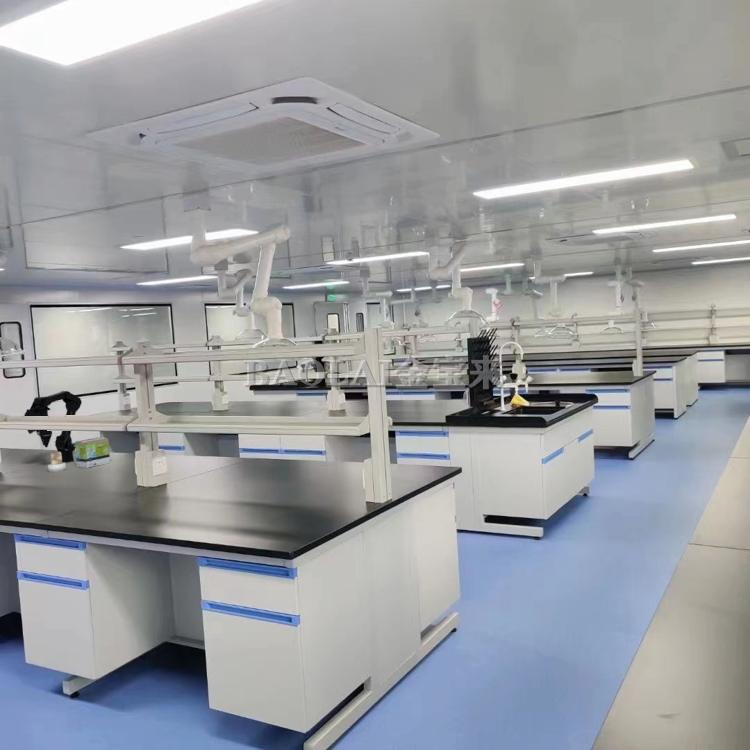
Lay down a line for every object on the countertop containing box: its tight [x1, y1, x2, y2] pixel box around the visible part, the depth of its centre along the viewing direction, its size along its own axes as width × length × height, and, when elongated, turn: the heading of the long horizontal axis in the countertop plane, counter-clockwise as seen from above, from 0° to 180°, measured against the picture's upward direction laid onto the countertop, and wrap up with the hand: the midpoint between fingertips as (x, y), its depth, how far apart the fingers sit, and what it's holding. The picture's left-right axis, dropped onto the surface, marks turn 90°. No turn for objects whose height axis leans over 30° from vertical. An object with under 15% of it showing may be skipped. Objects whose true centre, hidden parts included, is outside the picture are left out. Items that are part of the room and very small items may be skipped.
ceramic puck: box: [47, 462, 67, 473], centre depth 367 cm, size 9×9×4 cm
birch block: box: [49, 451, 62, 465], centre depth 367 cm, size 5×5×6 cm
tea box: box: [74, 437, 111, 469], centre depth 377 cm, size 15×10×15 cm, turn 148°
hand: (45, 446), depth 378 cm, fingers open, 9 cm apart
